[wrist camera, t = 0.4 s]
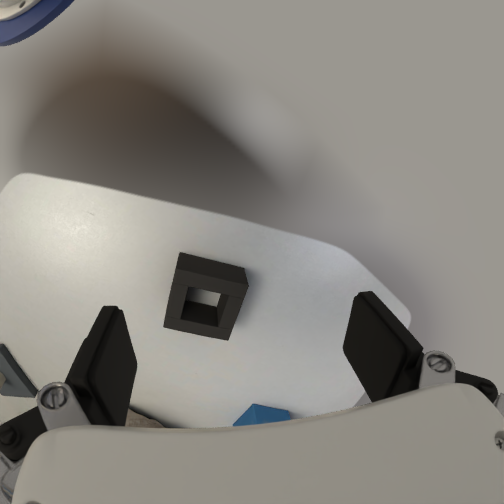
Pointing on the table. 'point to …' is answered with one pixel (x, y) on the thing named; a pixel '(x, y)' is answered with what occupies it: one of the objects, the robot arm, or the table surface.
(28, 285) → the table surface
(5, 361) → the base pad
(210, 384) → the table surface
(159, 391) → the table surface
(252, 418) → the perfume bottle
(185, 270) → the black square hollow block
